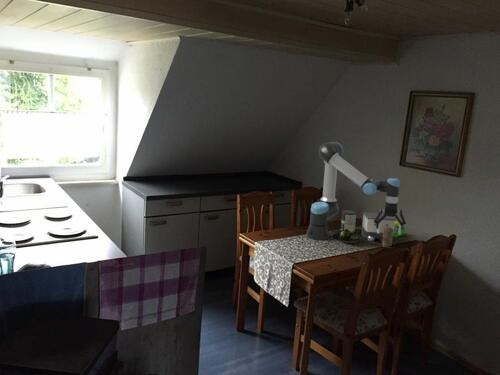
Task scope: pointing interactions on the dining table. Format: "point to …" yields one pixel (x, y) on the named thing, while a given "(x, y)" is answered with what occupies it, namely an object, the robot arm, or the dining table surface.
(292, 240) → the dining table surface
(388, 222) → the cabinet
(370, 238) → the steel puck
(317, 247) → the dining table surface
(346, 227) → the clear glass jar
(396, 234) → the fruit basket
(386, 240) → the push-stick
